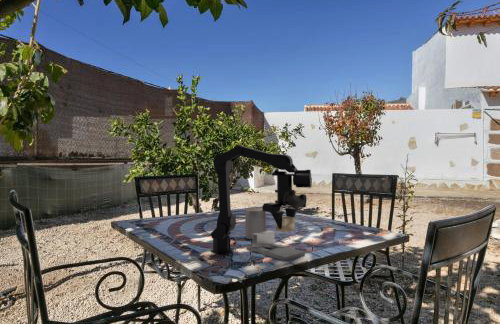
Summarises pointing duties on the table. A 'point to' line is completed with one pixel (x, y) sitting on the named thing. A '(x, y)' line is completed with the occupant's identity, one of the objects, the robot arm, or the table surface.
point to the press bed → (277, 251)
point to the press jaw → (262, 238)
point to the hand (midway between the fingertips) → (285, 227)
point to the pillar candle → (254, 221)
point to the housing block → (286, 224)
